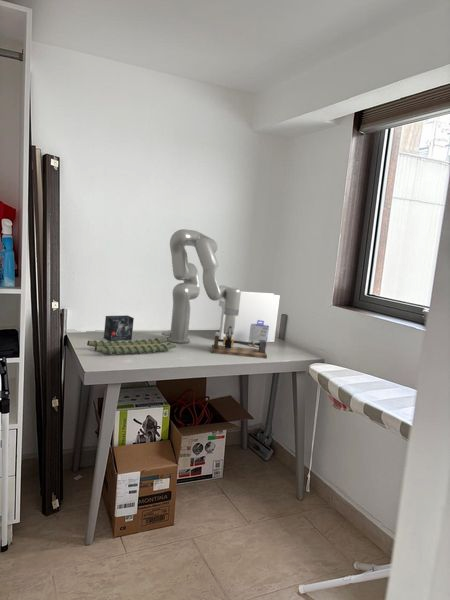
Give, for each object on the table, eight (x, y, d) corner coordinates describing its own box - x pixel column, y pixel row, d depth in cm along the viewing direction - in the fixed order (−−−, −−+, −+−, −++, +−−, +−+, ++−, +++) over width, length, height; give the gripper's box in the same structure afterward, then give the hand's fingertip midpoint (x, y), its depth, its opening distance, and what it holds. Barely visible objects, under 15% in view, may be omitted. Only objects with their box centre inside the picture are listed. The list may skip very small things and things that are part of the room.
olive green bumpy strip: (96, 358, 205) (96, 347, 204) (85, 349, 217) (86, 339, 216) (177, 353, 228) (178, 343, 228) (163, 345, 240) (164, 336, 239)
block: (220, 341, 262) (226, 292, 258) (215, 338, 269) (220, 290, 265) (274, 341, 277) (280, 295, 273) (267, 338, 284) (273, 293, 280)
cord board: (211, 352, 234) (213, 338, 233) (211, 347, 246) (212, 333, 245) (266, 358, 236) (268, 343, 235) (263, 352, 248) (265, 338, 247)
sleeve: (223, 344, 238) (223, 338, 238) (222, 343, 242) (223, 336, 241) (232, 345, 239) (233, 339, 238) (232, 344, 242) (233, 337, 242)
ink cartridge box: (266, 346, 262) (269, 321, 260) (265, 348, 257) (268, 323, 255) (249, 343, 264) (252, 318, 262) (248, 345, 259) (251, 320, 257)
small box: (109, 341, 235) (111, 318, 233) (103, 338, 240) (104, 315, 238) (132, 340, 244) (134, 317, 242) (125, 336, 249) (127, 315, 247)
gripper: (223, 308, 246) (219, 341, 249) (224, 314, 229) (220, 349, 232) (237, 309, 247) (233, 342, 249) (239, 315, 229) (235, 350, 232)
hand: (227, 345), depth 240 cm, fingers open, 6 cm apart
